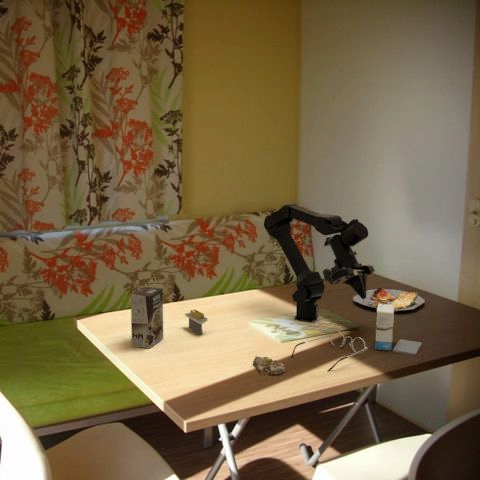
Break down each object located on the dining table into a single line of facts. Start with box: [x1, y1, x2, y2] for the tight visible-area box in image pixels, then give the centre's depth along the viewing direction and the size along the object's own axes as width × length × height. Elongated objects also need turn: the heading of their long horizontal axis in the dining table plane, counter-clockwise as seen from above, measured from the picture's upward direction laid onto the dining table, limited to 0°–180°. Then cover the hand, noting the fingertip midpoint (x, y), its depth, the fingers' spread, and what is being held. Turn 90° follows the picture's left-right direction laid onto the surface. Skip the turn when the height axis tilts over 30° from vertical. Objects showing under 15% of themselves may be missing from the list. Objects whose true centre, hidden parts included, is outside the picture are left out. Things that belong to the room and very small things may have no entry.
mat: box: [392, 339, 423, 356], centre depth 207 cm, size 7×10×1 cm, turn 155°
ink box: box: [374, 304, 395, 351], centre depth 208 cm, size 8×5×12 cm, turn 165°
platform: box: [184, 308, 209, 336], centre depth 220 cm, size 12×18×7 cm, turn 33°
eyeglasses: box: [290, 330, 369, 372], centre depth 200 cm, size 16×19×5 cm
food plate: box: [352, 286, 426, 313], centre depth 250 cm, size 25×23×4 cm
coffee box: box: [130, 286, 164, 349], centre depth 208 cm, size 9×6×16 cm
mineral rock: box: [252, 356, 286, 376], centre depth 191 cm, size 11×4×8 cm
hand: (364, 298), depth 213 cm, fingers closed
